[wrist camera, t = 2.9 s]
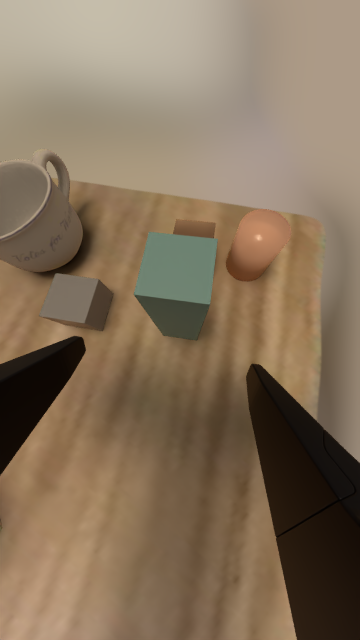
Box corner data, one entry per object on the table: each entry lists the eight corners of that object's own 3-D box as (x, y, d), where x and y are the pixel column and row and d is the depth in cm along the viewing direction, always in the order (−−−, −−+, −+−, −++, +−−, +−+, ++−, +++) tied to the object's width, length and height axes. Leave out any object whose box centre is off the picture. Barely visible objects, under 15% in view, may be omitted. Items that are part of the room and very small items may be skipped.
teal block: (196, 340, 20) (209, 304, 9) (163, 335, 21) (133, 294, 9) (200, 308, 21) (217, 238, 10) (169, 304, 22) (149, 232, 10)
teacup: (57, 296, 23) (-11, 259, 15) (2, 259, 24) (-83, 209, 17) (121, 222, 25) (93, 158, 18) (68, 194, 27) (21, 125, 20)
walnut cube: (206, 278, 22) (211, 257, 18) (172, 274, 23) (169, 252, 18) (210, 249, 24) (215, 222, 19) (178, 245, 24) (176, 219, 20)
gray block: (102, 331, 21) (84, 323, 17) (65, 325, 22) (38, 315, 18) (113, 294, 22) (98, 279, 19) (77, 288, 23) (55, 273, 19)
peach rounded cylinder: (272, 263, 23) (301, 227, 17) (248, 288, 22) (270, 260, 16) (241, 241, 24) (259, 201, 18) (218, 265, 23) (228, 230, 17)
